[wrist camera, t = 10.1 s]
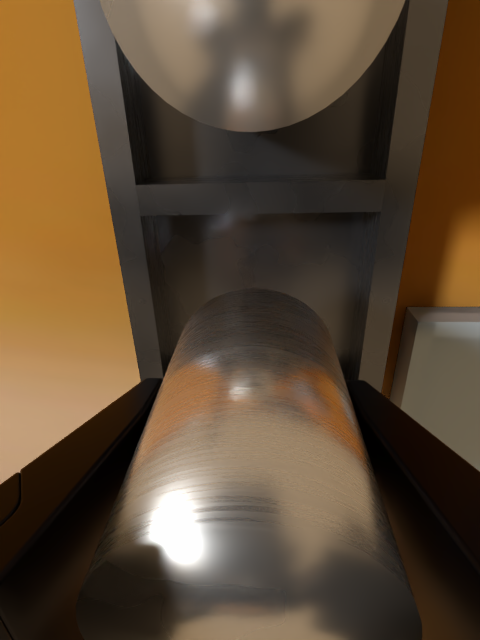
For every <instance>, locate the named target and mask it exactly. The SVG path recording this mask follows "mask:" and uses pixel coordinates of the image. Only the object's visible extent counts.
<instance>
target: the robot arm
mask: <svg viewBox="0 0 480 640" xmlns="http://www.w3.org/2000/svg"><path fill="white" fill-rule="evenodd" d="M162 381H163V378H146V379H144V380H143V381H142V382H140V383H139V384H137V385H136V386H135V387H133V388H132V389H131V390H129V391H128V392H127V393H125V394H124V395H122V396H121V397H120V398H118V399H117V400H116V401H114V402H113V403H111V404H110V405H109V406H107V407H106V408H105V409H103V410H102V411H100V412H99V413H98V414H96V415H95V416H94V417H92V418H91V419H90V420H88V421H87V422H85V423H84V424H83V425H81V426H80V427H79V428H77V429H76V430H74V431H73V432H72V433H70V434H69V435H68V436H66V437H65V438H64V439H62V440H61V441H59V442H58V443H57V444H55V445H54V446H53V447H51V448H50V449H48V450H47V451H46V452H44V453H43V454H42V455H40V456H39V457H38V458H36V459H35V460H33V461H32V462H31V463H29V464H28V465H27V466H25V467H24V468H22V469H21V471H20V473H19V472H17V473H15V474H14V475H13V476H11V477H10V478H9V479H7V480H6V481H4V482H3V483H2V484H0V640H84V638H83V636H82V634H81V632H80V630H79V627H78V624H77V620H76V603H77V598H78V594H79V591H80V589H81V586H82V584H83V581H84V579H85V576H86V574H87V571H88V569H89V566H90V564H91V561H92V559H93V556H94V553H95V551H96V548H97V546H98V543H99V541H100V538H101V536H102V533H103V531H104V528H105V526H106V523H107V521H108V518H109V516H110V513H111V510H112V508H113V505H114V503H115V500H116V498H117V495H118V493H119V490H120V488H121V485H122V483H123V480H124V478H125V475H126V472H127V470H128V467H129V465H130V462H131V460H132V457H133V455H134V452H135V450H136V447H137V445H138V442H139V440H140V437H141V434H142V432H143V429H144V427H145V424H146V422H147V419H148V417H149V414H150V412H151V409H152V407H153V404H154V402H155V399H156V397H157V394H158V391H159V389H160V386H161V384H162ZM346 386H347V389H348V392H349V395H350V398H351V401H352V404H353V408H354V411H355V414H356V417H357V420H358V423H359V426H360V430H361V433H362V436H363V439H364V442H365V445H366V448H367V452H368V455H369V458H370V461H371V464H372V467H373V470H374V474H375V477H376V480H377V483H378V486H379V489H380V492H381V496H382V499H383V502H384V505H385V508H386V511H387V514H388V517H389V521H390V524H391V527H392V530H393V533H394V536H395V539H396V543H397V546H398V549H399V552H400V555H401V558H402V561H403V565H404V568H405V571H406V574H407V577H408V580H409V583H410V587H411V590H412V593H413V596H414V599H415V602H416V605H417V609H418V612H419V615H420V619H421V622H422V640H480V471H479V470H477V469H476V468H475V467H474V466H472V465H471V464H470V463H469V462H467V461H466V460H465V459H463V458H462V457H461V456H460V455H458V454H457V453H456V452H455V451H453V450H452V449H451V448H450V447H448V446H447V445H446V444H445V443H443V442H442V441H441V440H439V439H438V438H437V437H436V436H434V435H433V434H432V433H431V432H429V431H428V430H427V429H426V428H424V427H423V426H422V425H421V424H419V423H418V422H417V421H415V420H414V419H413V418H412V417H410V416H409V415H408V414H407V413H405V412H404V411H403V410H402V409H400V408H399V407H398V406H397V405H395V404H394V403H393V402H391V401H390V400H389V399H388V398H386V397H385V396H384V395H383V394H381V393H380V392H379V391H378V390H376V389H375V388H374V387H373V386H371V385H370V384H369V383H367V382H366V381H364V380H347V381H346Z"/></svg>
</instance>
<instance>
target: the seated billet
mask: <svg viewBox="0 0 480 640" xmlns="http://www.w3.org/2000/svg"><path fill="white" fill-rule="evenodd" d="M404 2H405V0H100V3H101V6H102V10H103V12H104V14H105V17H106V19H107V22H108V24H109V26H110V29H111V31H112V33H113V35H114V37H115V39H116V41H117V42H118V44H119V46H120V48H121V50H122V51H123V53H124V55H125V56H126V58H127V59H128V61H129V62H130V63H131V65H132V66H133V68H134V69H135V71H136V72H137V73H138V74H139V75H140V77H141V78H142V79H143V80H144V81H145V82H146V83H147V85H148V86H149V87H150V88H151V89H152V90H153V91H154V92H155V93H157V94H158V95H159V96H160V97H161V98H162V99H163V100H164V101H166V102H167V103H168V104H170V105H171V106H173V107H174V108H175V109H177V110H178V111H180V112H181V113H183V114H185V115H187V116H189V117H191V118H193V119H195V120H197V121H199V122H201V123H204V124H207V125H210V126H213V127H216V128H220V129H225V130H231V131H239V132H258V131H268V130H274V129H278V128H282V127H286V126H290V125H292V124H295V123H297V122H299V121H302V120H304V119H307V118H309V117H310V116H312V115H314V114H316V113H317V112H319V111H321V110H323V109H324V108H326V107H327V106H328V105H330V104H331V103H332V102H334V101H335V100H336V99H338V98H339V97H340V96H342V95H343V94H344V93H345V92H346V91H347V90H348V89H349V88H350V87H351V86H352V85H353V84H354V83H355V82H356V81H357V80H358V79H359V78H360V77H361V75H362V74H363V73H364V72H365V71H366V69H367V68H368V67H369V66H370V65H371V63H372V62H373V61H374V59H375V58H376V56H377V55H378V53H379V52H380V50H381V49H382V47H383V46H384V44H385V43H386V41H387V39H388V37H389V35H390V33H391V31H392V29H393V27H394V25H395V24H396V22H397V20H398V17H399V15H400V12H401V10H402V7H403V5H404Z"/></svg>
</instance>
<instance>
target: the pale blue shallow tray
mask: <svg viewBox="0 0 480 640" xmlns="http://www.w3.org/2000/svg"><path fill="white" fill-rule="evenodd" d="M390 401H391V402H393V403H394V404H395V405H397V406H398V407H399V408H400V409H402V410H403V411H404V412H405V413H407V414H408V415H409V416H410V417H412V418H413V419H414V420H415V421H417V422H418V423H419V424H421V425H422V426H423V427H424V428H426V429H427V430H428V431H429V432H431V433H432V434H433V435H434V436H436V437H437V438H438V439H439V440H441V441H442V442H443V443H445V444H446V445H447V446H448V447H450V448H451V449H452V450H453V451H455V452H456V453H457V454H458V455H460V456H461V457H462V458H463V459H465V460H466V461H467V462H469V463H470V464H471V465H472V466H474V467H475V468H476V469H477V470H479V471H480V307H407V309H406V314H405V319H404V325H403V330H402V335H401V341H400V346H399V352H398V357H397V362H396V368H395V373H394V379H393V384H392V389H391V395H390Z"/></svg>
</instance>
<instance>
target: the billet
mask: <svg viewBox="0 0 480 640" xmlns="http://www.w3.org/2000/svg"><path fill="white" fill-rule="evenodd" d="M76 620H77V624H78V627H79V630H80V632H81V634H82V636H83V638H84V640H422V622H421V619H420V615H419V612H418V609H417V605H416V602H415V599H414V596H413V593H412V590H411V587H410V583H409V580H408V577H407V574H406V571H405V568H404V565H403V561H402V558H401V555H400V552H399V549H398V546H397V543H396V539H395V536H394V533H393V530H392V527H391V524H390V521H389V517H388V514H387V511H386V508H385V505H384V502H383V499H382V496H381V492H380V489H379V486H378V483H377V480H376V477H375V474H374V470H373V467H372V464H371V461H370V458H369V455H368V452H367V448H366V445H365V442H364V439H363V436H362V433H361V430H360V426H359V423H358V420H357V417H356V414H355V411H354V408H353V404H352V401H351V398H350V395H349V392H348V389H347V386H346V382H345V379H344V376H343V373H342V370H341V367H340V364H339V360H338V357H337V354H336V351H335V348H334V345H333V342H332V339H331V335H330V333H329V331H328V329H327V327H326V325H325V324H324V322H323V321H322V319H321V318H320V317H319V316H318V315H317V314H316V312H315V311H314V310H312V309H311V308H310V307H309V306H308V305H306V304H305V303H303V302H302V301H300V300H298V299H297V298H294V297H292V296H290V295H288V294H285V293H282V292H279V291H275V290H269V289H259V288H250V289H240V290H235V291H231V292H228V293H225V294H222V295H220V296H217V297H215V298H213V299H211V300H210V301H208V302H207V303H205V304H204V305H203V306H201V307H200V308H199V309H198V310H197V311H196V312H195V313H194V314H193V315H192V316H191V317H190V319H189V320H188V322H187V323H186V325H185V327H184V329H183V331H182V333H181V336H180V338H179V341H178V343H177V346H176V348H175V351H174V353H173V356H172V359H171V361H170V364H169V366H168V369H167V371H166V374H165V376H164V379H163V381H162V384H161V386H160V389H159V391H158V394H157V397H156V399H155V402H154V404H153V407H152V409H151V412H150V414H149V417H148V419H147V422H146V424H145V427H144V429H143V432H142V434H141V437H140V440H139V442H138V445H137V447H136V450H135V452H134V455H133V457H132V460H131V462H130V465H129V467H128V470H127V472H126V475H125V478H124V480H123V483H122V485H121V488H120V490H119V493H118V495H117V498H116V500H115V503H114V505H113V508H112V510H111V513H110V516H109V518H108V521H107V523H106V526H105V528H104V531H103V533H102V536H101V538H100V541H99V543H98V546H97V548H96V551H95V553H94V556H93V559H92V561H91V564H90V566H89V569H88V571H87V574H86V576H85V579H84V581H83V584H82V586H81V589H80V591H79V594H78V598H77V603H76Z"/></svg>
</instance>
